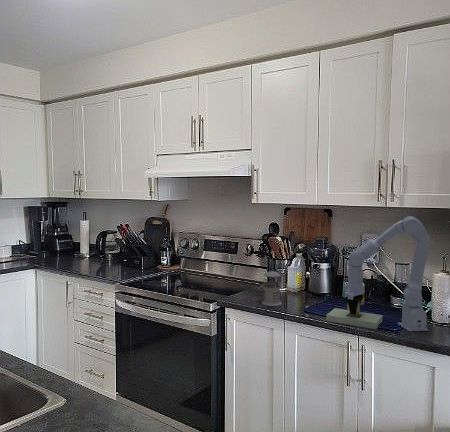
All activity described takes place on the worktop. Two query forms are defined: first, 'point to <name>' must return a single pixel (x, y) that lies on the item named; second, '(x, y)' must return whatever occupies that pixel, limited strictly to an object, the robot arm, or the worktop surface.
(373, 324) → the hole board
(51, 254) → the worktop surface
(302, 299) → the worktop surface
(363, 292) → the supplement bottle
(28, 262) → the worktop surface
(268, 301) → the french press
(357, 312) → the tall dowel
